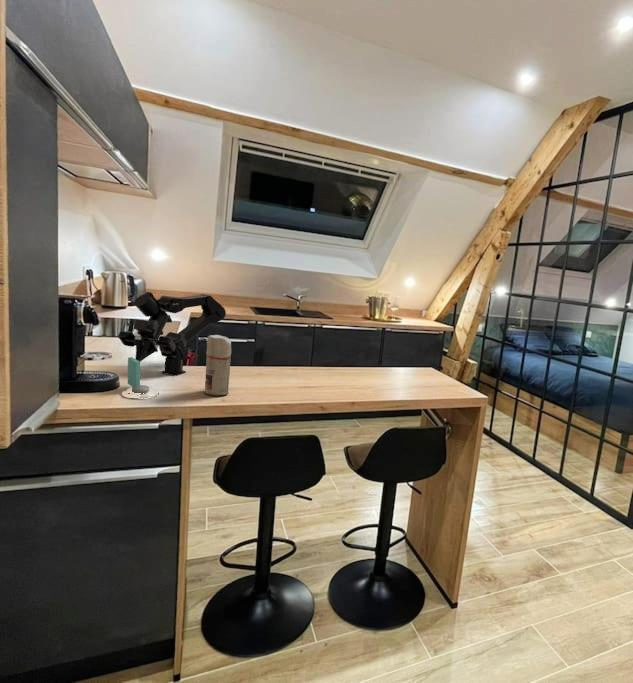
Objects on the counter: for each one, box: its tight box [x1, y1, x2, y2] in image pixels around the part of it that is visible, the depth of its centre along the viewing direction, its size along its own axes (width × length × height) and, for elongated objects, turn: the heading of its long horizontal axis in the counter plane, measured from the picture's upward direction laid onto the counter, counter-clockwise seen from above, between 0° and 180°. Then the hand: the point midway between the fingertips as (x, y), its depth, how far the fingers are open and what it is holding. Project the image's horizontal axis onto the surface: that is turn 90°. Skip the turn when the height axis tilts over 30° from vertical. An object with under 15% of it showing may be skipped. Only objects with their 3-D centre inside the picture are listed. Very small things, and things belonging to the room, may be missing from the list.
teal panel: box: [127, 356, 149, 393], centre depth 130 cm, size 11×5×9 cm, turn 47°
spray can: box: [203, 334, 232, 397], centre depth 135 cm, size 8×8×20 cm
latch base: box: [128, 386, 160, 398], centre depth 129 cm, size 11×11×1 cm
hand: (136, 362), depth 133 cm, fingers closed
